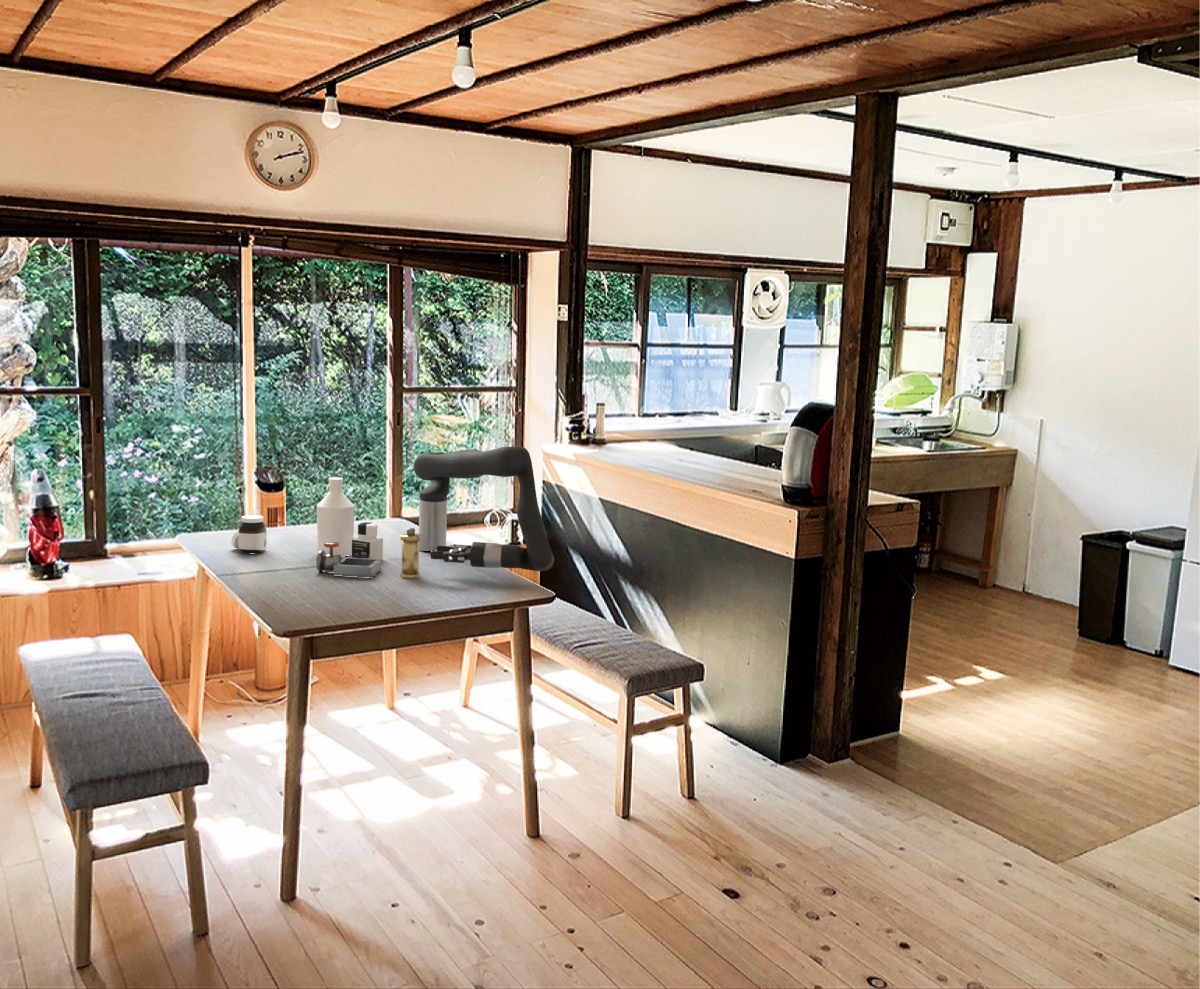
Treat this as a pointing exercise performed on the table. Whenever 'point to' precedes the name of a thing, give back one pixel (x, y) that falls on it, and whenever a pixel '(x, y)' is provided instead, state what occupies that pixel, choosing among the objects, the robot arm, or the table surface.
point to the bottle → (335, 520)
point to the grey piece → (346, 564)
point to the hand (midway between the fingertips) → (433, 552)
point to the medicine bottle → (367, 542)
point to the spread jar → (251, 535)
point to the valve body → (410, 554)
